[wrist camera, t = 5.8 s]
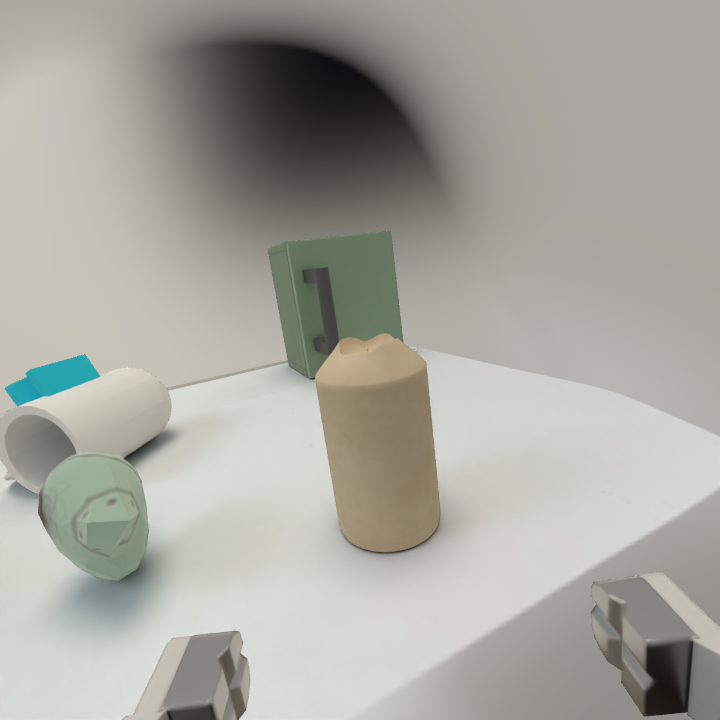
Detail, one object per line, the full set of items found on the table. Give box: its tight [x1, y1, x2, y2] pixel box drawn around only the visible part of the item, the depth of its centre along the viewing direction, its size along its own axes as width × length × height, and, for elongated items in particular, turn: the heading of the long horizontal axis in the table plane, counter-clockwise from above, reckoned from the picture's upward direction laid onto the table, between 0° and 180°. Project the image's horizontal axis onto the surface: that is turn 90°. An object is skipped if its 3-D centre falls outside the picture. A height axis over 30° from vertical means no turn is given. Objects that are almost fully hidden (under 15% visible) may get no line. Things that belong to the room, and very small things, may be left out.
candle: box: [315, 333, 440, 552], centre depth 21 cm, size 6×6×10 cm
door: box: [285, 231, 403, 378], centre depth 50 cm, size 6×14×17 cm, turn 116°
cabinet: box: [268, 231, 385, 377], centre depth 57 cm, size 9×14×17 cm, turn 116°
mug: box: [0, 355, 172, 494], centre depth 35 cm, size 12×9×12 cm
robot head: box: [38, 452, 149, 581], centre depth 20 cm, size 8×4×7 cm, turn 33°
